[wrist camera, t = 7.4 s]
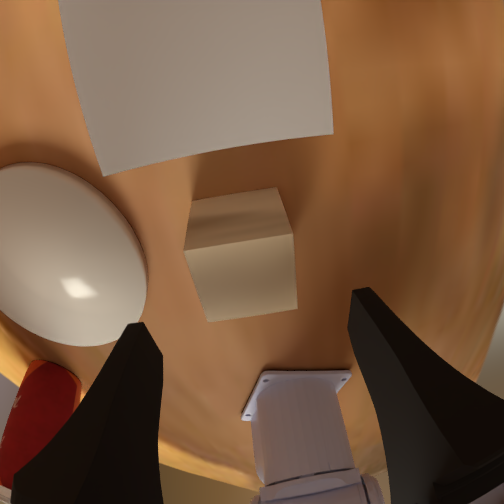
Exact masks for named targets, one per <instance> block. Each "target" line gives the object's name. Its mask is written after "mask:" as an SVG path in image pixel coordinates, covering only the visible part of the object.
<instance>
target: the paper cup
mask: <svg viewBox="0 0 504 504" xmlns="http://www.w3.org/2000/svg"><path fill="white" fill-rule="evenodd" d="M81 387H82V385H81V382H80V380H79V379H78V378H77V377H76V376H75V375H74V374H73V373H71V372H70V371H68V370H67V369H65V368H63V367H62V366H60V365H57V364H55V363H52V362H49V361H45V360H34V361H32V362H31V364H30V365H29V367H28V369H27V372H26V374H25V376H24V378H23V381H22V383H21V386H20V388H19V391H18V393H17V396H16V398H15V401H14V404H13V406H12V409H11V412H10V415H9V418H8V421H7V424H6V427H5V430H4V433H3V436H2V440H1V443H0V501H2V502H4V503H6V504H11V503H10V499H11V490H12V483H13V476H14V474H15V473H16V472H17V471H19V470H20V469H21V468H22V467H23V466H25V465H26V464H27V463H28V462H29V461H30V460H32V459H33V458H34V457H35V456H36V455H37V454H38V453H39V452H40V451H41V450H42V449H43V448H44V447H45V446H46V445H47V444H48V443H49V442H50V441H51V440H52V438H53V437H54V436H55V435H56V434H57V432H58V431H59V430H60V429H61V428H62V427H63V425H64V424H65V423H66V422H67V420H68V419H69V418H70V417H71V415H72V414H73V412H74V411H75V410H76V408H77V407H78V405H79V404H80V396H81Z"/></svg>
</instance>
